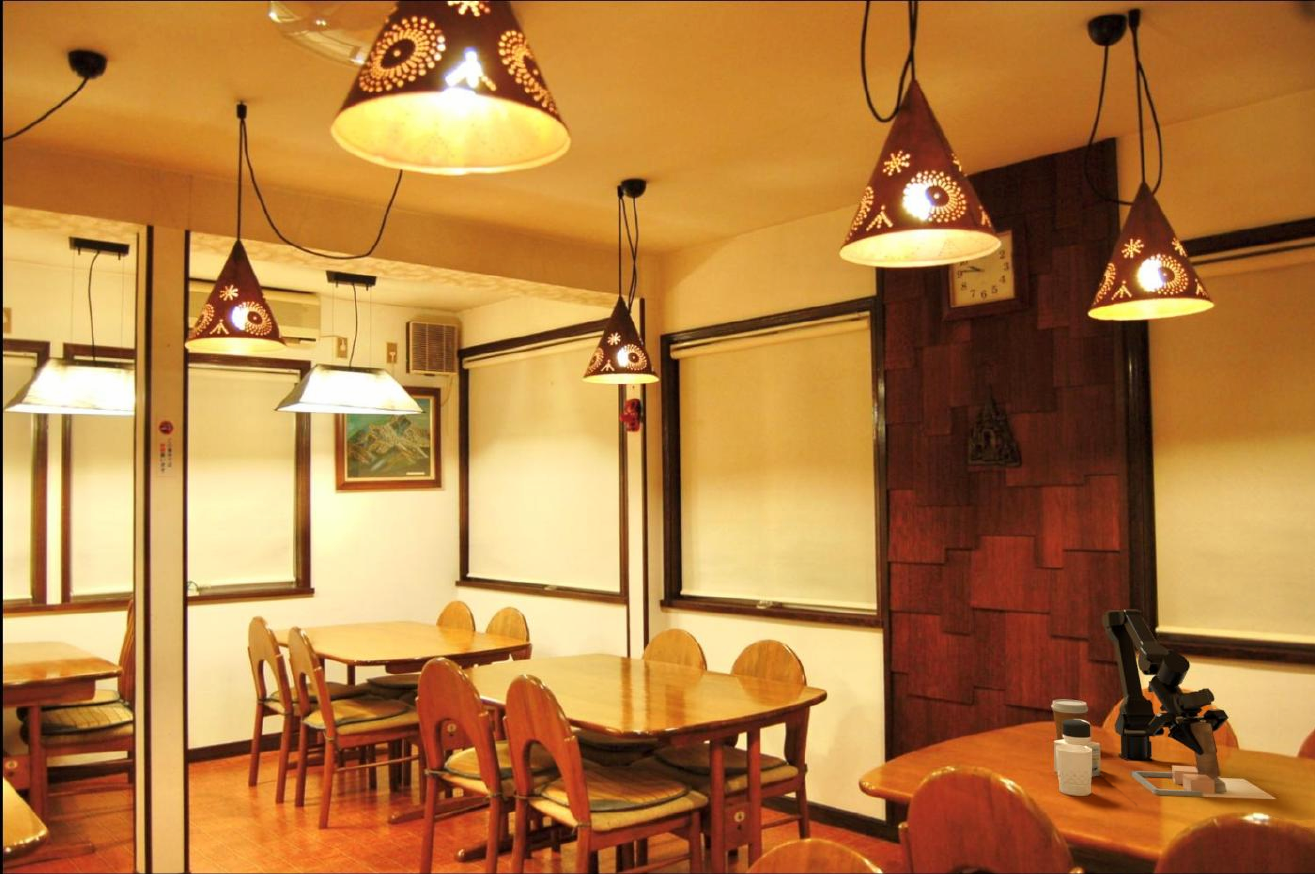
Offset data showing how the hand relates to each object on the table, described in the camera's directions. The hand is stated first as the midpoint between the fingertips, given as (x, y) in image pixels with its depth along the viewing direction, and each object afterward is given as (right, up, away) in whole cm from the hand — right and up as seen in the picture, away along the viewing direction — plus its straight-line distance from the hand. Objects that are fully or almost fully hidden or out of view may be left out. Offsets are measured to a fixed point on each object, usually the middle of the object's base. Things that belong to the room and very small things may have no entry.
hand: (1208, 753), depth 239 cm
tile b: (-3, -8, +5) cm, 10 cm away
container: (-23, -10, +17) cm, 31 cm away
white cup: (-31, -9, 0) cm, 32 cm away
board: (+4, -9, 0) cm, 10 cm away
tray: (-9, -9, +2) cm, 13 cm away
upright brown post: (+1, -7, +1) cm, 7 cm away
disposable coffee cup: (-14, -12, +45) cm, 49 cm away
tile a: (-4, -8, -2) cm, 9 cm away
